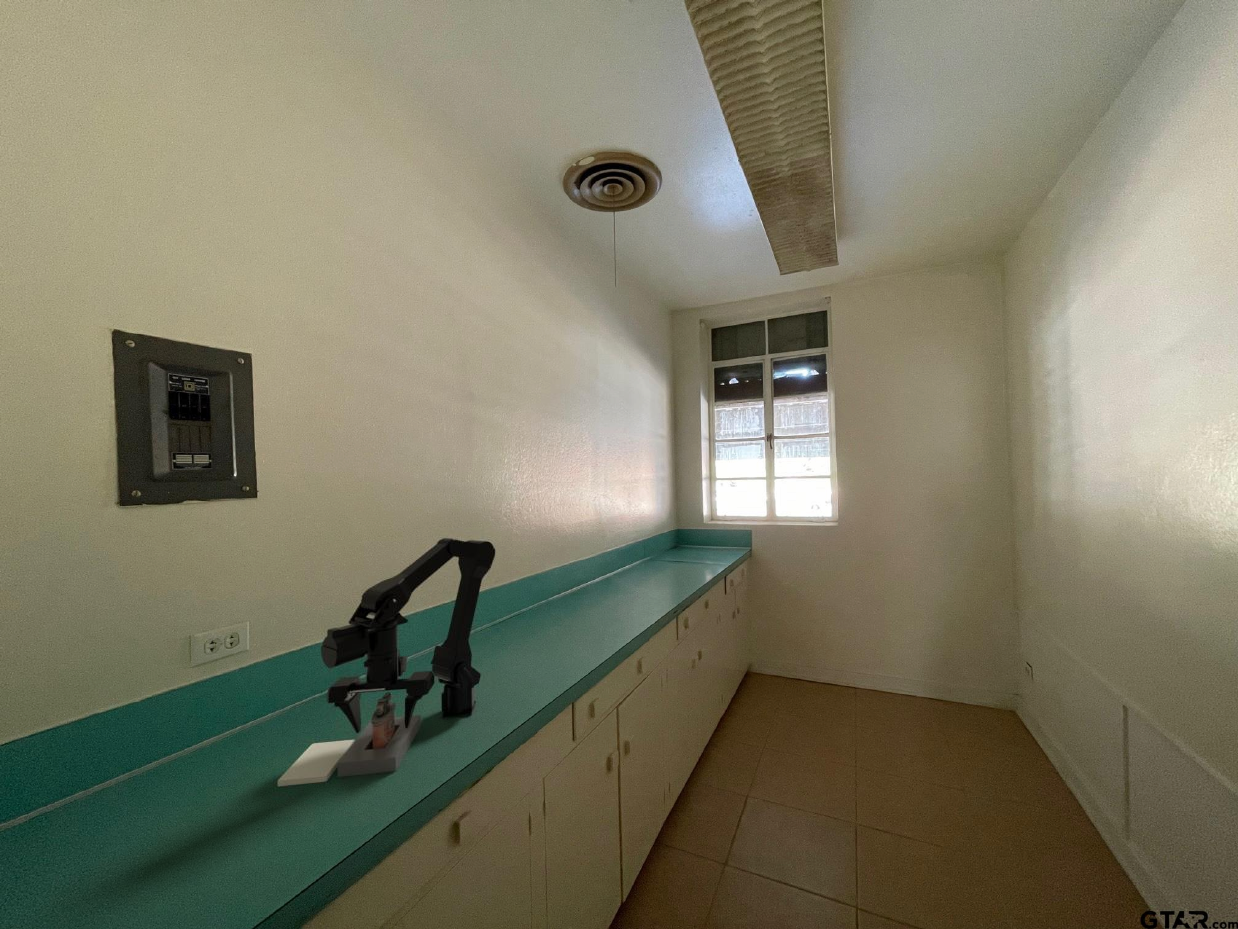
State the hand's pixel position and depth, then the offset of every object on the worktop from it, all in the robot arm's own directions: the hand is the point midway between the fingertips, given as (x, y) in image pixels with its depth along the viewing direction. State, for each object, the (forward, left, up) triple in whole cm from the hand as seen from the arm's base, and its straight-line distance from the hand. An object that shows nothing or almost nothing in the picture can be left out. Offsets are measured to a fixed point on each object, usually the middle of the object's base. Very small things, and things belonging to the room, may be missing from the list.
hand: (383, 729), depth 95 cm
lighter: (0, 0, -4) cm, 4 cm away
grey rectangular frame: (0, 0, -4) cm, 4 cm away
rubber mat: (+11, +3, -4) cm, 12 cm away
